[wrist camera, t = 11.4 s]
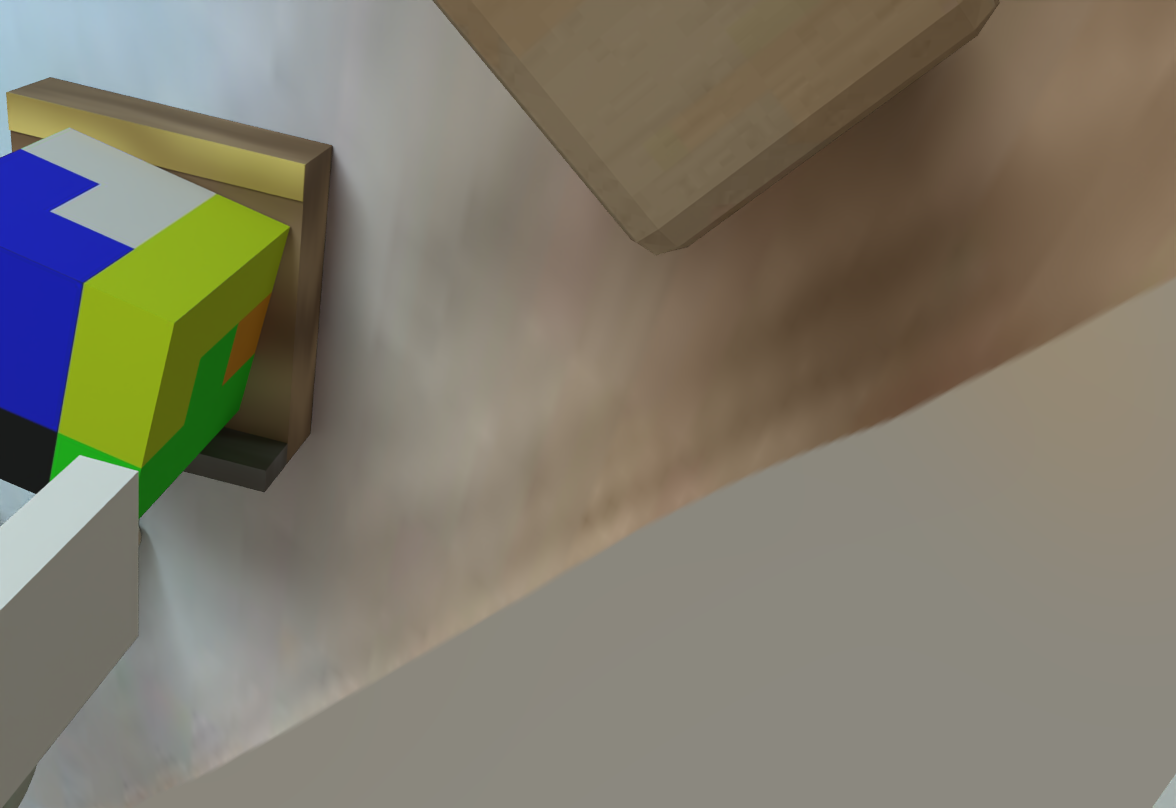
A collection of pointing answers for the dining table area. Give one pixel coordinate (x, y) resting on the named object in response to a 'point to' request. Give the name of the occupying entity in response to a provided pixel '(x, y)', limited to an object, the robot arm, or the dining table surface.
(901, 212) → the dining table surface
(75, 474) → the robot arm
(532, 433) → the dining table surface
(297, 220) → the dock
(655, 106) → the wooden block
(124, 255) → the puzzle toy
